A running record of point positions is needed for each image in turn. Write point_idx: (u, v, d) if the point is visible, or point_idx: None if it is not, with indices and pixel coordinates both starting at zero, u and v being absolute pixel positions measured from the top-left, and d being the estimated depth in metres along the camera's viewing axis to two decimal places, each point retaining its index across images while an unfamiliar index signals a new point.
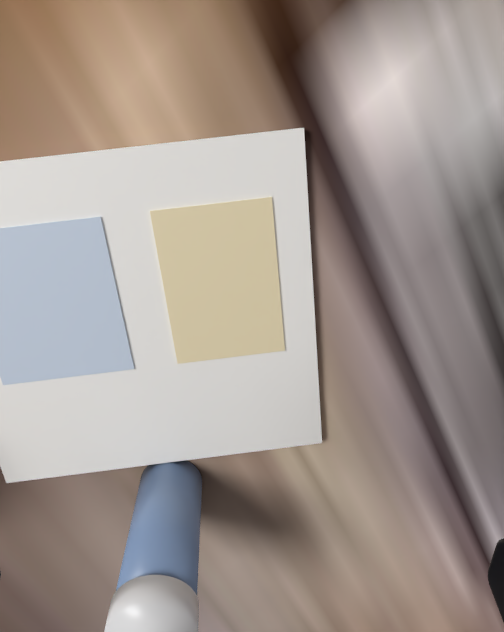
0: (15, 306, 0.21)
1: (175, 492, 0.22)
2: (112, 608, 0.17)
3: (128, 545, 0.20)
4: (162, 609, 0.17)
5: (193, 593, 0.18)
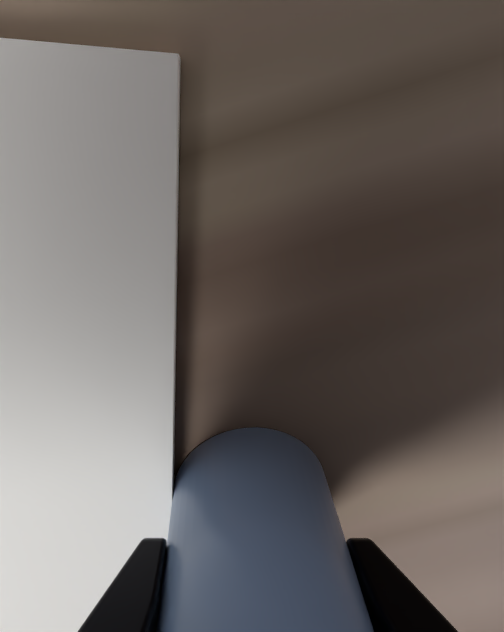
0: None
1: (169, 569, 0.07)
2: None
3: None
4: None
5: None
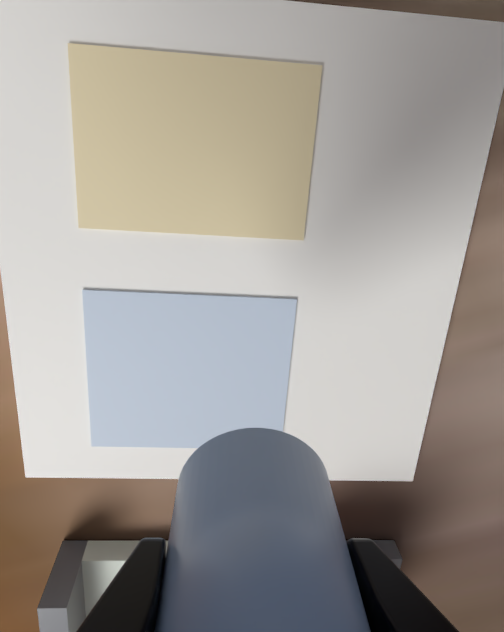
0: (185, 410, 0.17)
1: (169, 567, 0.07)
2: None
3: None
4: None
5: None
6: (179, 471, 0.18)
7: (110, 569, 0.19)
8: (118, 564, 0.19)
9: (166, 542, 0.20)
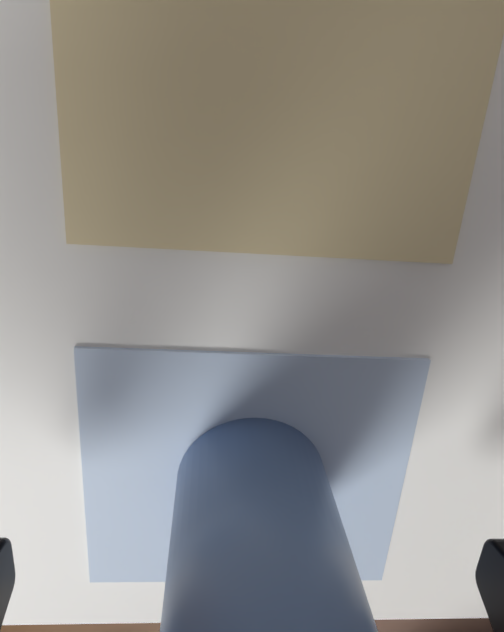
0: None
1: (175, 551, 0.08)
2: None
3: None
4: None
5: None
6: None
7: None
8: None
9: None
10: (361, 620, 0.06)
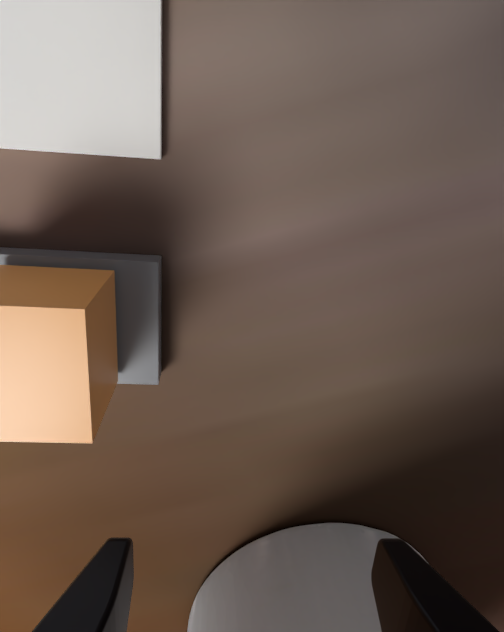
0: None
1: None
2: None
3: None
4: None
5: None
6: None
7: None
8: None
9: None
10: None
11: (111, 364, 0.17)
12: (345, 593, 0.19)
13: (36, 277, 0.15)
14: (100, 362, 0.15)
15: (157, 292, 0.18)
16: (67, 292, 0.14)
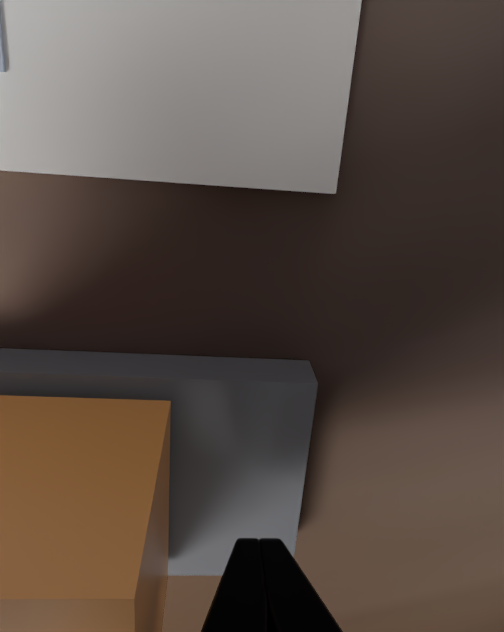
0: None
1: None
2: None
3: None
4: None
5: None
6: None
7: None
8: None
9: None
10: None
11: (163, 577, 0.09)
12: None
13: (16, 440, 0.07)
14: (152, 624, 0.07)
15: (309, 433, 0.10)
16: (85, 506, 0.06)
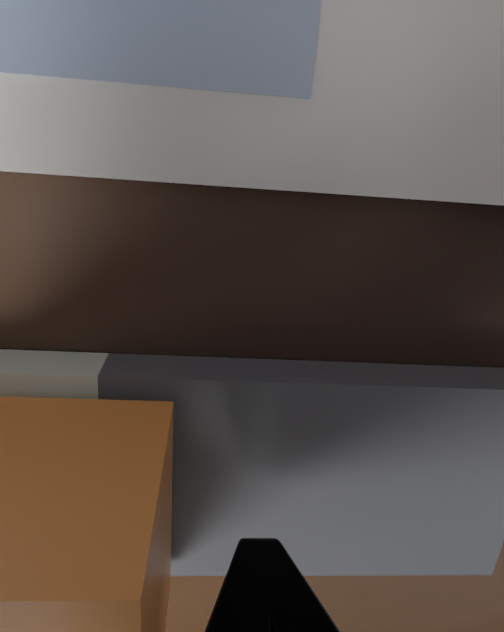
0: None
1: None
2: None
3: None
4: None
5: None
6: (77, 154, 0.08)
7: None
8: None
9: (67, 354, 0.10)
10: None
11: (166, 578, 0.09)
12: None
13: (20, 441, 0.07)
14: (156, 625, 0.07)
15: None
16: (90, 508, 0.06)
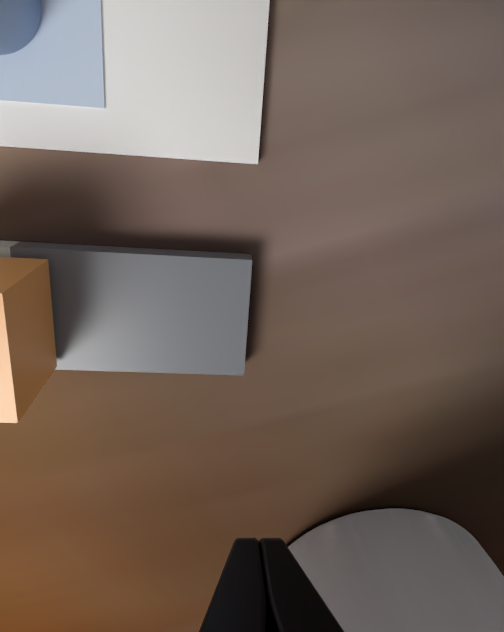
0: None
1: None
2: None
3: None
4: None
5: None
6: None
7: None
8: None
9: None
10: None
11: (45, 349, 0.18)
12: (418, 571, 0.21)
13: None
14: (28, 346, 0.16)
15: (249, 288, 0.19)
16: None
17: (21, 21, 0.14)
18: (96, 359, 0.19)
